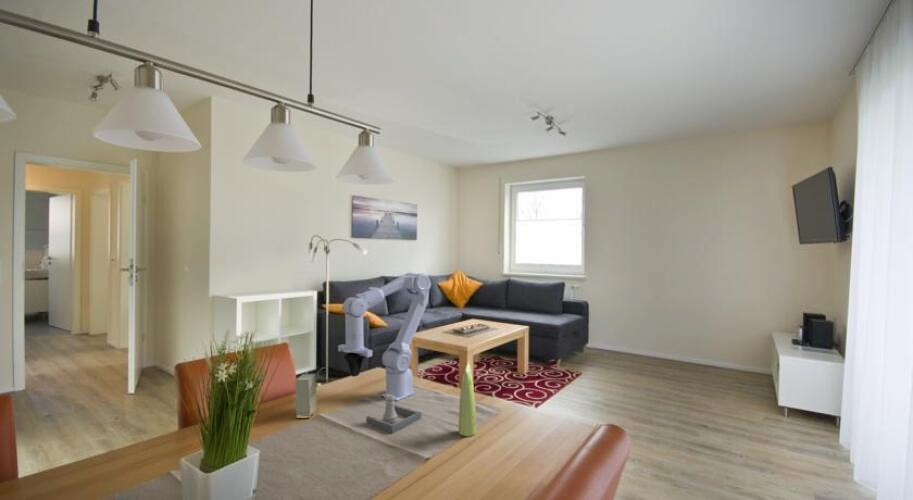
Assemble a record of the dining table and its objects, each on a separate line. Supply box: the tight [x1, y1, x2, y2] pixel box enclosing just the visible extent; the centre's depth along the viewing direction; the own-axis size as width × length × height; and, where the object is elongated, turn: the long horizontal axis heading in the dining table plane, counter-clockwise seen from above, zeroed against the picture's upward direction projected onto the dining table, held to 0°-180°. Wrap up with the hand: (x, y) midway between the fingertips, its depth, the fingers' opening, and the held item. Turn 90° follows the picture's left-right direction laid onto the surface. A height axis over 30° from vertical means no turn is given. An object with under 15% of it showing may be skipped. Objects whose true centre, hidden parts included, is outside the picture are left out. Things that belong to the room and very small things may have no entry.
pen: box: [365, 404, 422, 434], centre depth 127 cm, size 12×11×2 cm
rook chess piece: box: [382, 393, 398, 424], centre depth 127 cm, size 4×4×8 cm
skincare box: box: [295, 373, 318, 416], centre depth 132 cm, size 6×4×12 cm
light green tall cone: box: [458, 360, 477, 437], centre depth 118 cm, size 6×5×20 cm
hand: (355, 375), depth 138 cm, fingers closed
